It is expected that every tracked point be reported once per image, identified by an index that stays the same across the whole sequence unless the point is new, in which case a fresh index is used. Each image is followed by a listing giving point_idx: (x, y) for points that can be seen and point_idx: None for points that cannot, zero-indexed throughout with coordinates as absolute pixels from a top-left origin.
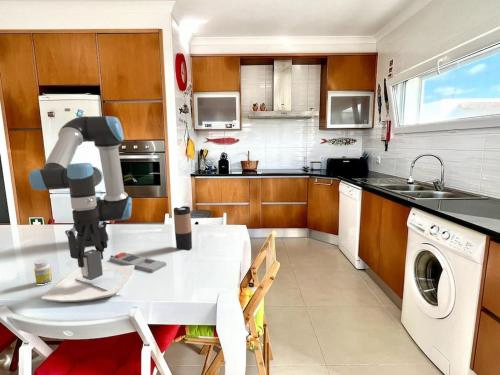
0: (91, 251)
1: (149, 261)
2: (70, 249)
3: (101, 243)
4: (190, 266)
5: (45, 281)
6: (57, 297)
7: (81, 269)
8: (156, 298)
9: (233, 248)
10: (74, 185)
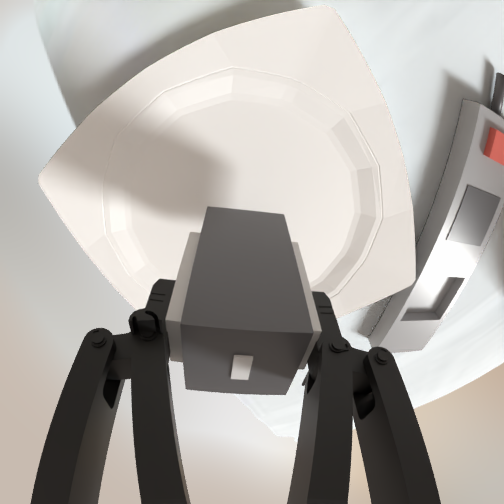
0: (263, 361)
1: (452, 286)
2: (66, 403)
3: (376, 385)
4: (415, 370)
5: None
6: (81, 210)
7: (183, 256)
8: (249, 400)
9: (485, 369)
10: None
